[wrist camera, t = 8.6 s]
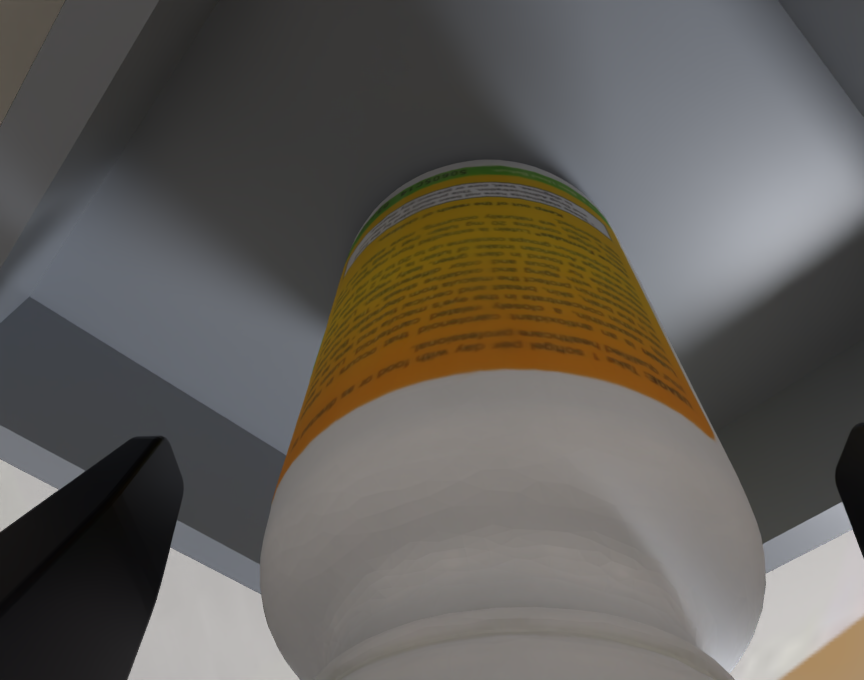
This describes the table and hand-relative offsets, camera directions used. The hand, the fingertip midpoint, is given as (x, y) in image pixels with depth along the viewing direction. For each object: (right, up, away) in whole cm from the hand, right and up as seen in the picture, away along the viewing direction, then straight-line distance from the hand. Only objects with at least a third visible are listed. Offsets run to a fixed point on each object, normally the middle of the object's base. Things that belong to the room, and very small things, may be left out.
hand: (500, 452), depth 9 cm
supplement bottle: (0, +3, +4) cm, 5 cm away
